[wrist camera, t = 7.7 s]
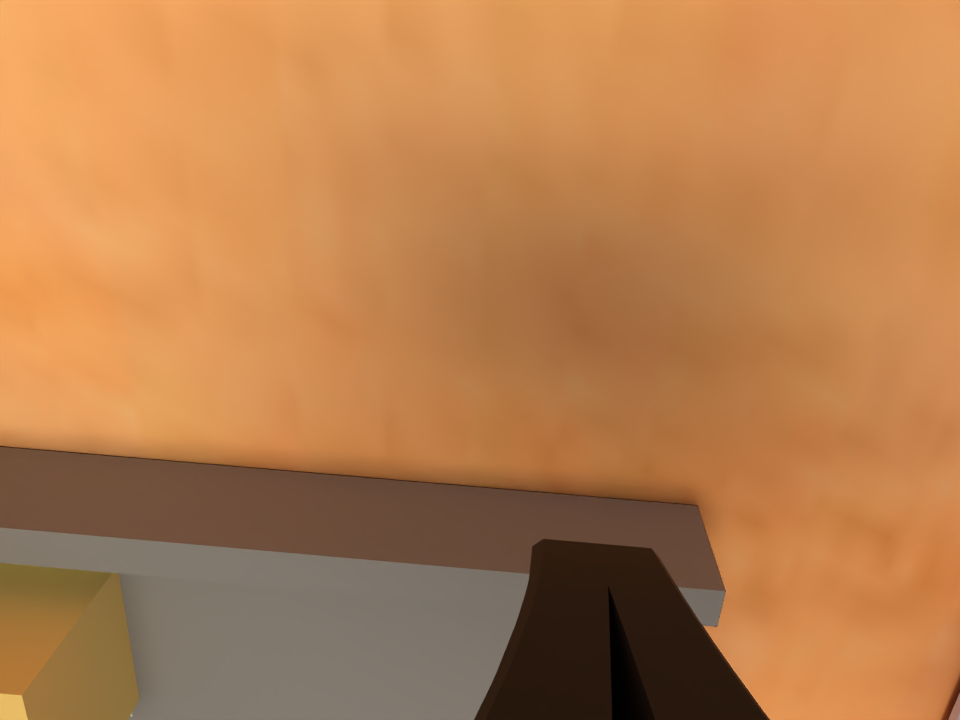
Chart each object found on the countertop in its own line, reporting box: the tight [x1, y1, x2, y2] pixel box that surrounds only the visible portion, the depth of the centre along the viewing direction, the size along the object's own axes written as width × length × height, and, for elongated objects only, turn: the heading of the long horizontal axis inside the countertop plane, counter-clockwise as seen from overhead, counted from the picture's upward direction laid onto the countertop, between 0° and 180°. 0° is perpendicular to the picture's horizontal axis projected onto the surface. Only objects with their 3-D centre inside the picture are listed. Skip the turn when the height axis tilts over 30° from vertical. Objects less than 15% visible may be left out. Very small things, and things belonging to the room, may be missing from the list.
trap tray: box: [0, 447, 726, 720], centre depth 22 cm, size 20×14×3 cm
